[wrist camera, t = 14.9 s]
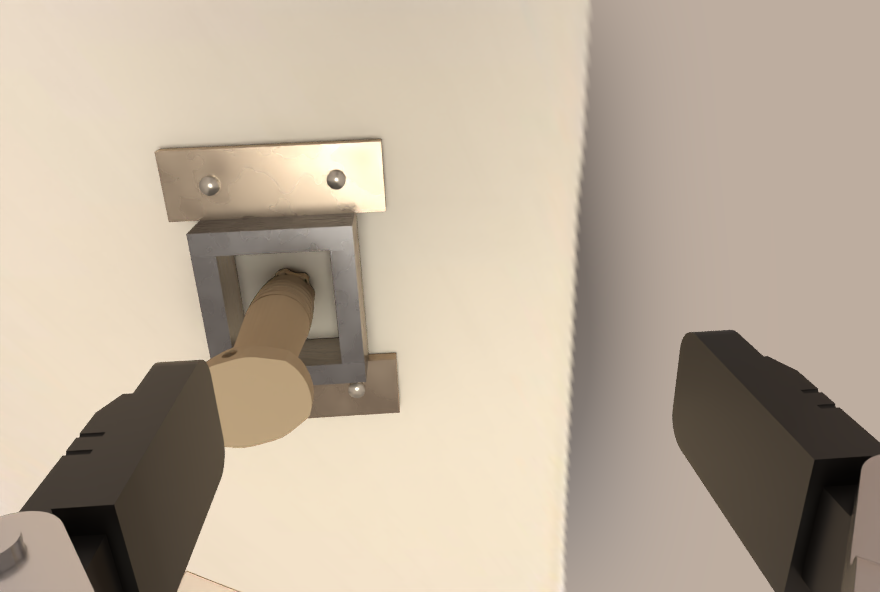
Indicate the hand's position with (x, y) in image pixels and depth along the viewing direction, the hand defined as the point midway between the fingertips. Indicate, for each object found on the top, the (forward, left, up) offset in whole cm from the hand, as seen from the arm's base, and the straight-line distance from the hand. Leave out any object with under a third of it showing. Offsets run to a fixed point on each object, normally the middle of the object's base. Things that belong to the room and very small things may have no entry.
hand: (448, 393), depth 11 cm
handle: (+11, -9, -33) cm, 36 cm away
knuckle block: (+11, -9, -33) cm, 36 cm away
